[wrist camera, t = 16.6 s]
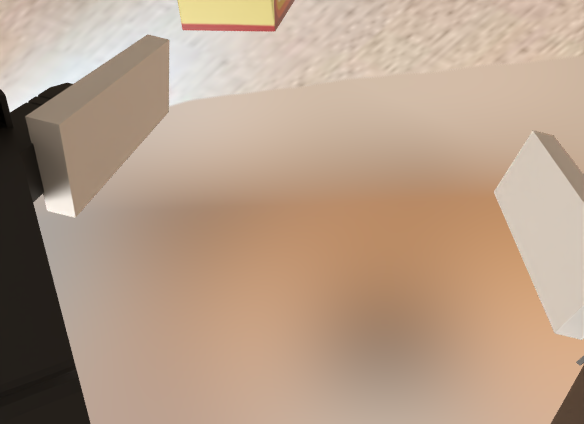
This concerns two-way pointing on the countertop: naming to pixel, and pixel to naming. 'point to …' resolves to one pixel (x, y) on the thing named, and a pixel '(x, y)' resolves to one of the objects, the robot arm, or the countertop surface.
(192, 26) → the baking soda box
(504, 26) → the countertop surface
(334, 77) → the countertop surface
